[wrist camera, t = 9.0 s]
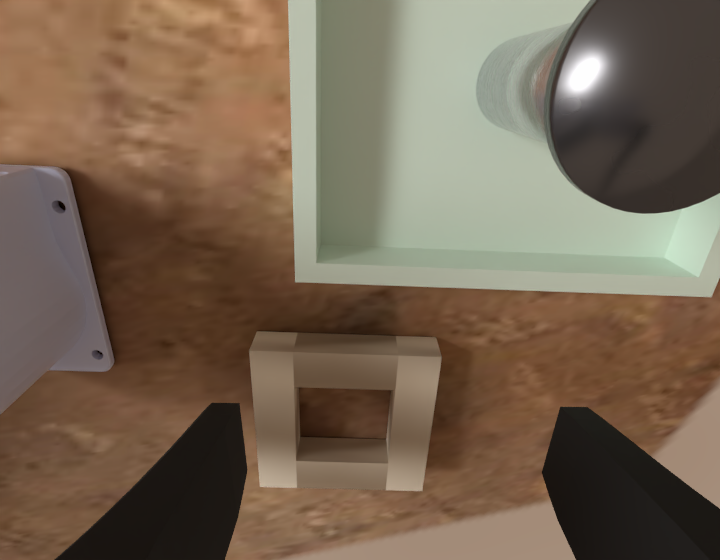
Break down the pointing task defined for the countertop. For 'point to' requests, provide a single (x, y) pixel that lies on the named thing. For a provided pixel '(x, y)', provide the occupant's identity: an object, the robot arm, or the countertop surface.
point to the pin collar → (343, 371)
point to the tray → (454, 165)
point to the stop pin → (619, 100)
